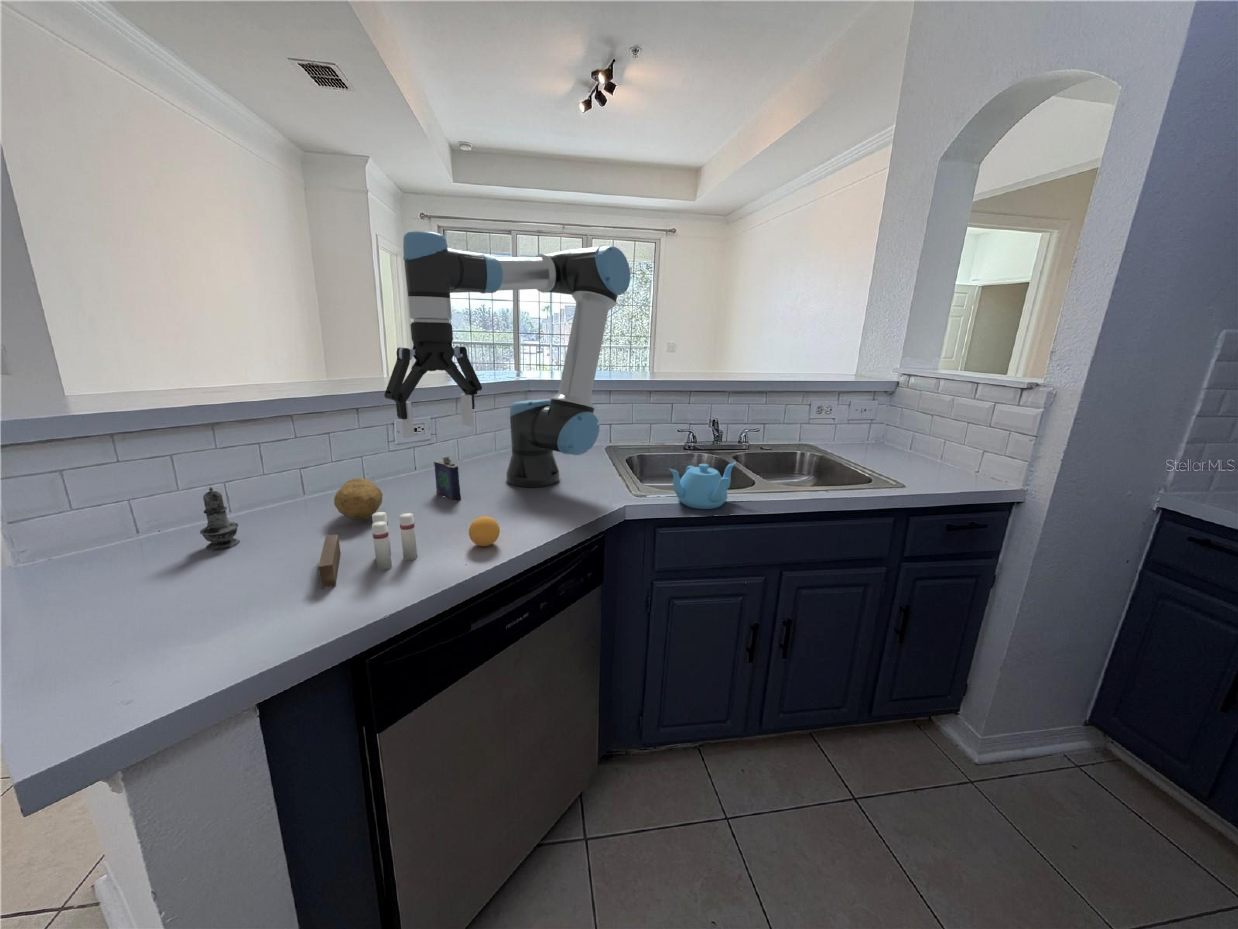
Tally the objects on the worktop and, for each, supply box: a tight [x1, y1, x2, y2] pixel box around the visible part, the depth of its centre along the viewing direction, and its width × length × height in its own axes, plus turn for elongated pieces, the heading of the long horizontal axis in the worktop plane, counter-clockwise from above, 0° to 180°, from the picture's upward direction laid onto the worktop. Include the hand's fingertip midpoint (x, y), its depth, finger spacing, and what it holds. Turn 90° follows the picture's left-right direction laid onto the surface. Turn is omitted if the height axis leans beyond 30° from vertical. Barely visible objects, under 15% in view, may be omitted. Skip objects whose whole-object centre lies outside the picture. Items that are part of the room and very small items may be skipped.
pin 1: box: [371, 511, 392, 556], centre depth 91 cm, size 2×2×8 cm
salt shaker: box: [199, 486, 241, 552], centre depth 93 cm, size 6×6×12 cm
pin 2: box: [371, 522, 392, 571], centre depth 87 cm, size 2×2×8 cm
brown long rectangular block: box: [318, 534, 342, 589], centre depth 86 cm, size 2×13×4 cm, turn 26°
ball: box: [468, 515, 501, 547], centre depth 97 cm, size 6×6×6 cm
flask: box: [433, 455, 462, 502], centre depth 123 cm, size 9×3×11 cm, turn 50°
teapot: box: [668, 461, 737, 510], centre depth 124 cm, size 15×15×10 cm
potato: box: [333, 477, 383, 521], centre depth 109 cm, size 10×14×8 cm
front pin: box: [398, 512, 418, 561], centre depth 91 cm, size 2×2×8 cm
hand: (439, 430), depth 98 cm, fingers open, 13 cm apart
